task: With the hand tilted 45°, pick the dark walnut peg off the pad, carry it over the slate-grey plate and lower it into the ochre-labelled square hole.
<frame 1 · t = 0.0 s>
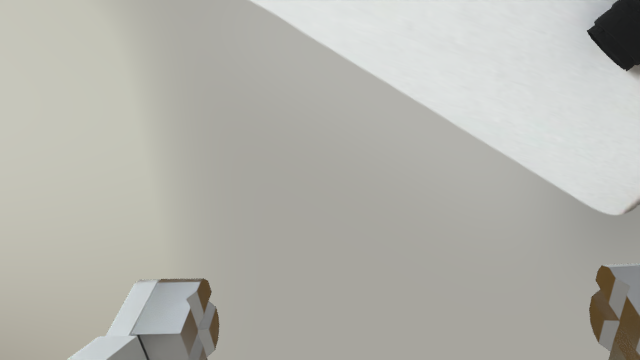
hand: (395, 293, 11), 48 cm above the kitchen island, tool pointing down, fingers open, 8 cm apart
film camera: (631, 3, 53), on the kitchen island
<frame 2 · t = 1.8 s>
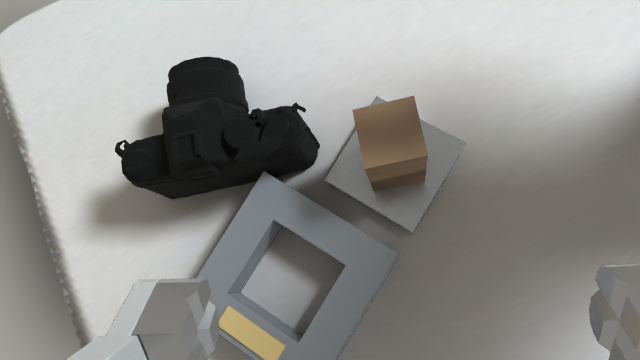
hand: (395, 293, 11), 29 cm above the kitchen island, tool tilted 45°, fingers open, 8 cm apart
film camera: (232, 138, 44), on the kitchen island
hole plate: (294, 279, 40), on the kitchen island
walnut peg: (393, 161, 40), point 1 cm above the kitchen island, touching pad
pad: (394, 164, 41), on the kitchen island
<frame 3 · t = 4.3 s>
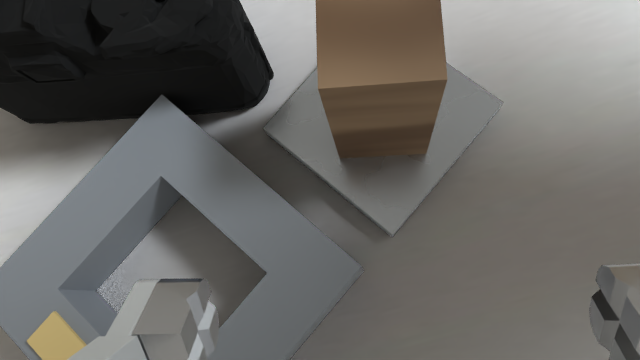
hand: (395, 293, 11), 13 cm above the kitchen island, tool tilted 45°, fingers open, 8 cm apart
film camera: (143, 46, 28), on the kitchen island
hole plate: (186, 283, 24), on the kitchen island
walnut peg: (380, 115, 24), point 1 cm above the kitchen island, touching pad
pad: (380, 122, 25), on the kitchen island
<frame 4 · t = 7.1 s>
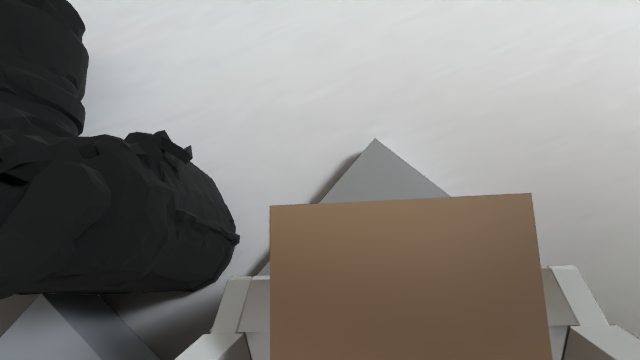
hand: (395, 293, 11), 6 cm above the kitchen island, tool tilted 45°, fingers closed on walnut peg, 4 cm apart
film camera: (54, 173, 19), on the kitchen island
walnut peg: (393, 318, 15), point 1 cm above the kitchen island, touching gripper, pad
pad: (392, 317, 16), on the kitchen island
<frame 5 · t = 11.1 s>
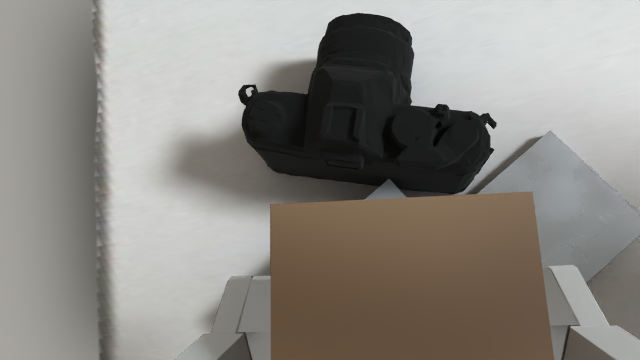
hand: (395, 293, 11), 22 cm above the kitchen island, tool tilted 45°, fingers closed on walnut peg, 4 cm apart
film camera: (369, 125, 35), on the kitchen island
hole plate: (380, 321, 32), on the kitchen island
walnut peg: (393, 317, 15), point 17 cm above the kitchen island, touching gripper
pad: (546, 220, 32), on the kitchen island
when the fingers open (7 cm above the kitchen island, at t = 15.3 s): walnut peg drops 2 cm, resting in hole plate.
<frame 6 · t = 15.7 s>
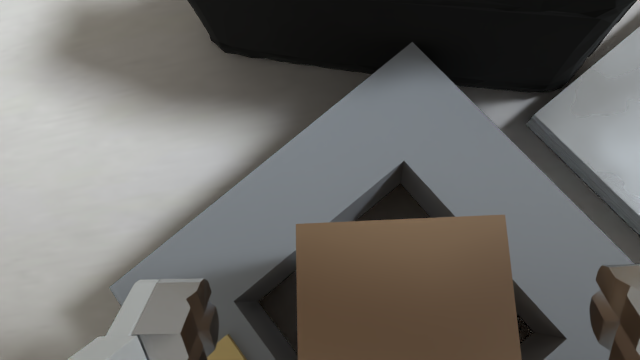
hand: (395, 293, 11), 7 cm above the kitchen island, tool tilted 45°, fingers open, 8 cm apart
hole plate: (390, 316, 17), on the kitchen island
walnut peg: (394, 315, 17), resting in hole plate
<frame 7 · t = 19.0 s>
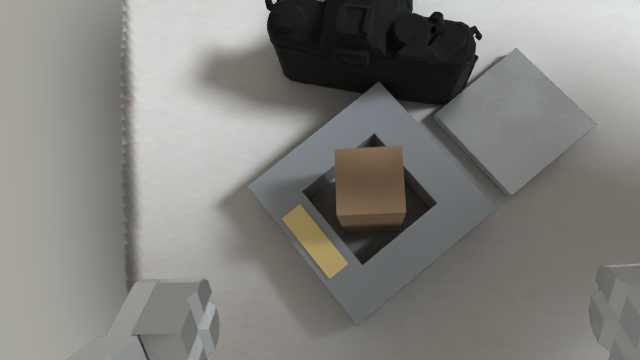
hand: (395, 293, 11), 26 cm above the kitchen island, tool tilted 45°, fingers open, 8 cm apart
film camera: (373, 45, 41), on the kitchen island
hole plate: (368, 205, 37), on the kitchen island
walnut peg: (370, 205, 37), resting in hole plate
pad: (510, 123, 38), on the kitchen island
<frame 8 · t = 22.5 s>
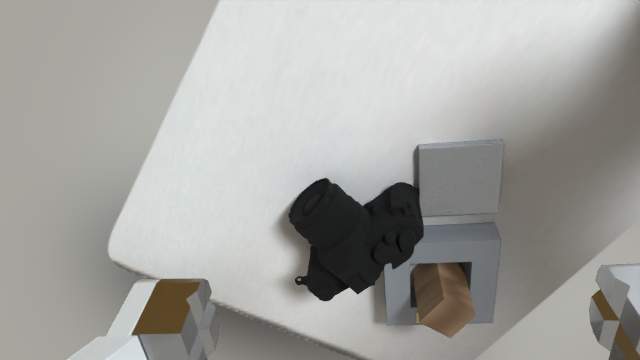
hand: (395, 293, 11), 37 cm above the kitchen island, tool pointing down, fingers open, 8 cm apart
film camera: (345, 207, 55), on the kitchen island
hole plate: (436, 267, 58), on the kitchen island
walnut peg: (437, 266, 58), resting in hole plate
pad: (458, 176, 52), on the kitchen island
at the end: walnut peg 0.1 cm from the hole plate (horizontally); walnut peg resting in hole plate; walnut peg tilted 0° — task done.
